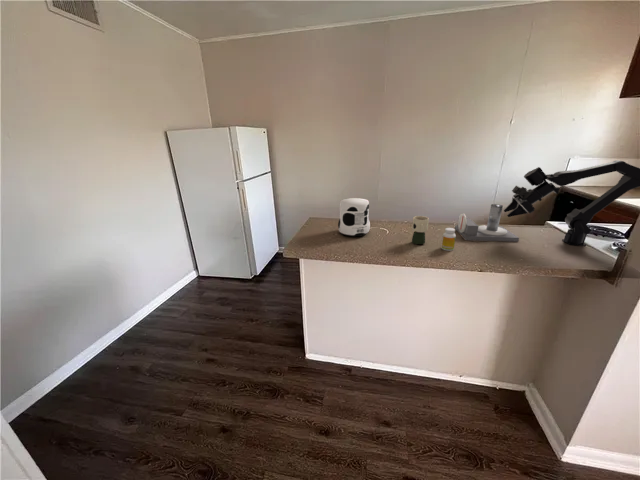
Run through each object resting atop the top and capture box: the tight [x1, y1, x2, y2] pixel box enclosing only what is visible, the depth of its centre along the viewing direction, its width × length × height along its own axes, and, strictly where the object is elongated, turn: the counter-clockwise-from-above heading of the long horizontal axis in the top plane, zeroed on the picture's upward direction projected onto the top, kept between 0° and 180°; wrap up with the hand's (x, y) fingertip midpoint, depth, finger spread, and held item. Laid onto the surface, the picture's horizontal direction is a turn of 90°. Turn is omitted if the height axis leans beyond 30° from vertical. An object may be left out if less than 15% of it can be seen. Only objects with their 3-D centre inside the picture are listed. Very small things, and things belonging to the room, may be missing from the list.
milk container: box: [337, 197, 371, 237], centre depth 146 cm, size 17×17×18 cm
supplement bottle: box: [440, 227, 457, 252], centre depth 124 cm, size 5×5×10 cm
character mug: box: [411, 215, 430, 245], centre depth 131 cm, size 11×7×13 cm, turn 169°
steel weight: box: [486, 203, 504, 231], centre depth 138 cm, size 5×5×13 cm
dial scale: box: [454, 213, 520, 242], centre depth 140 cm, size 24×18×11 cm
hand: (505, 213), depth 135 cm, fingers open, 9 cm apart
